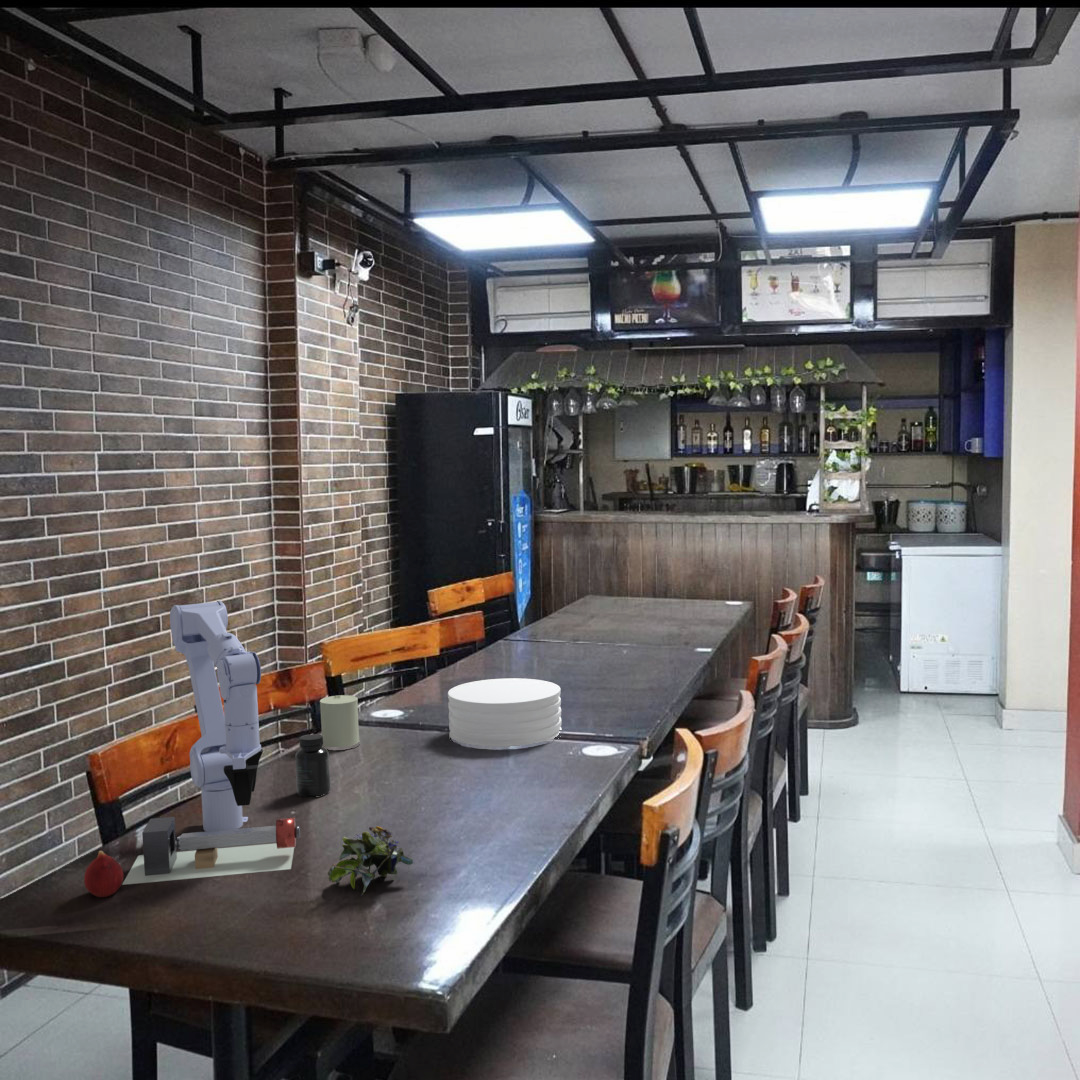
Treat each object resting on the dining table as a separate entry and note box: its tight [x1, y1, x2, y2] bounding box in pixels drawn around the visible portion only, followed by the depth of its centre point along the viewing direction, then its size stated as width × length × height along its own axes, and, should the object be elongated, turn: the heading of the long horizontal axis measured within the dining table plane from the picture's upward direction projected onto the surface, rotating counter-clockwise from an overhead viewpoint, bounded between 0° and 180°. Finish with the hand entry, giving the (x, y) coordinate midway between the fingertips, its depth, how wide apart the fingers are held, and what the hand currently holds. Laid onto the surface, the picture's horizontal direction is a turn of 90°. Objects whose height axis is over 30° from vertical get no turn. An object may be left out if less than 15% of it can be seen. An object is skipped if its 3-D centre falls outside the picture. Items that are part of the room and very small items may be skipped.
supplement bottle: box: [294, 733, 331, 798], centre depth 220 cm, size 7×7×12 cm
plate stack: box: [447, 677, 563, 747], centre depth 262 cm, size 28×28×12 cm
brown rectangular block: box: [195, 847, 218, 869], centre depth 181 cm, size 5×3×2 cm, turn 10°
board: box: [121, 842, 295, 886], centre depth 181 cm, size 13×27×1 cm, turn 100°
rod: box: [174, 817, 301, 852], centre depth 182 cm, size 5×21×5 cm, turn 100°
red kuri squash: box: [83, 850, 124, 898], centre depth 169 cm, size 6×6×8 cm
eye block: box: [142, 816, 178, 876], centre depth 180 cm, size 7×4×7 cm, turn 10°
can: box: [319, 694, 360, 747], centre depth 257 cm, size 9×9×12 cm
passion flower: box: [327, 826, 414, 897], centre depth 171 cm, size 11×11×12 cm
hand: (245, 798), depth 186 cm, fingers open, 7 cm apart
